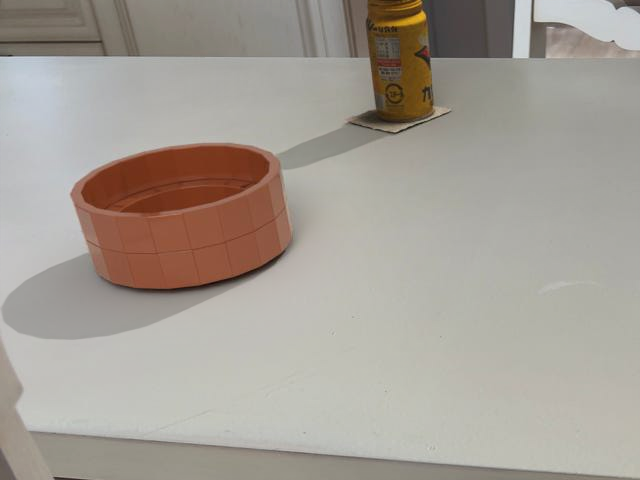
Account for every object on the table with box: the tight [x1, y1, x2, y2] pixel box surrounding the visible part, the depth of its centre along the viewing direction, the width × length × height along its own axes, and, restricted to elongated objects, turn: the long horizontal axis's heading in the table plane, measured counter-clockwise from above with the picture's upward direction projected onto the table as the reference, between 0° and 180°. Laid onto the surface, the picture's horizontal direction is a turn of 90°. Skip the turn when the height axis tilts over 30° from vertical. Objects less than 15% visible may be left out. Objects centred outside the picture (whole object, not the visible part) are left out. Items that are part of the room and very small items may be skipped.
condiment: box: [344, 0, 452, 133], centre depth 101 cm, size 7×8×12 cm
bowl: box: [69, 142, 294, 290], centre depth 79 cm, size 16×16×6 cm
